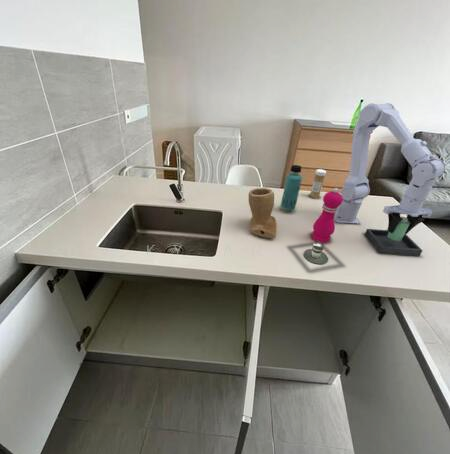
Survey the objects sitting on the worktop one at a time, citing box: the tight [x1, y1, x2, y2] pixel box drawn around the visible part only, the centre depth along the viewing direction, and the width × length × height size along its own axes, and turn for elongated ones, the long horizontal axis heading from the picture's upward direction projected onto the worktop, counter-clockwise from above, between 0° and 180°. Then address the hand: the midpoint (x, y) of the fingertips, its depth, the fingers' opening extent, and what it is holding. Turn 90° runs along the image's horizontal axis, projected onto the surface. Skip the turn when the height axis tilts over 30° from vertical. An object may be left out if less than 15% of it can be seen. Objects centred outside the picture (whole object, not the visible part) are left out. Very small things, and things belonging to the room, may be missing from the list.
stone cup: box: [248, 187, 278, 239], centre depth 89 cm, size 15×12×15 cm
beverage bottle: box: [280, 164, 303, 211], centre depth 101 cm, size 6×7×20 cm
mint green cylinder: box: [387, 216, 410, 241], centre depth 84 cm, size 4×4×8 cm
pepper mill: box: [311, 187, 343, 244], centre depth 84 cm, size 7×7×20 cm
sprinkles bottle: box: [309, 168, 327, 199], centre depth 116 cm, size 5×5×14 cm
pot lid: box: [303, 241, 329, 265], centre depth 79 cm, size 12×12×5 cm
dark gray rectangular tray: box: [364, 228, 423, 257], centre depth 87 cm, size 14×12×2 cm
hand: (396, 231), depth 85 cm, fingers closed on mint green cylinder, 4 cm apart
